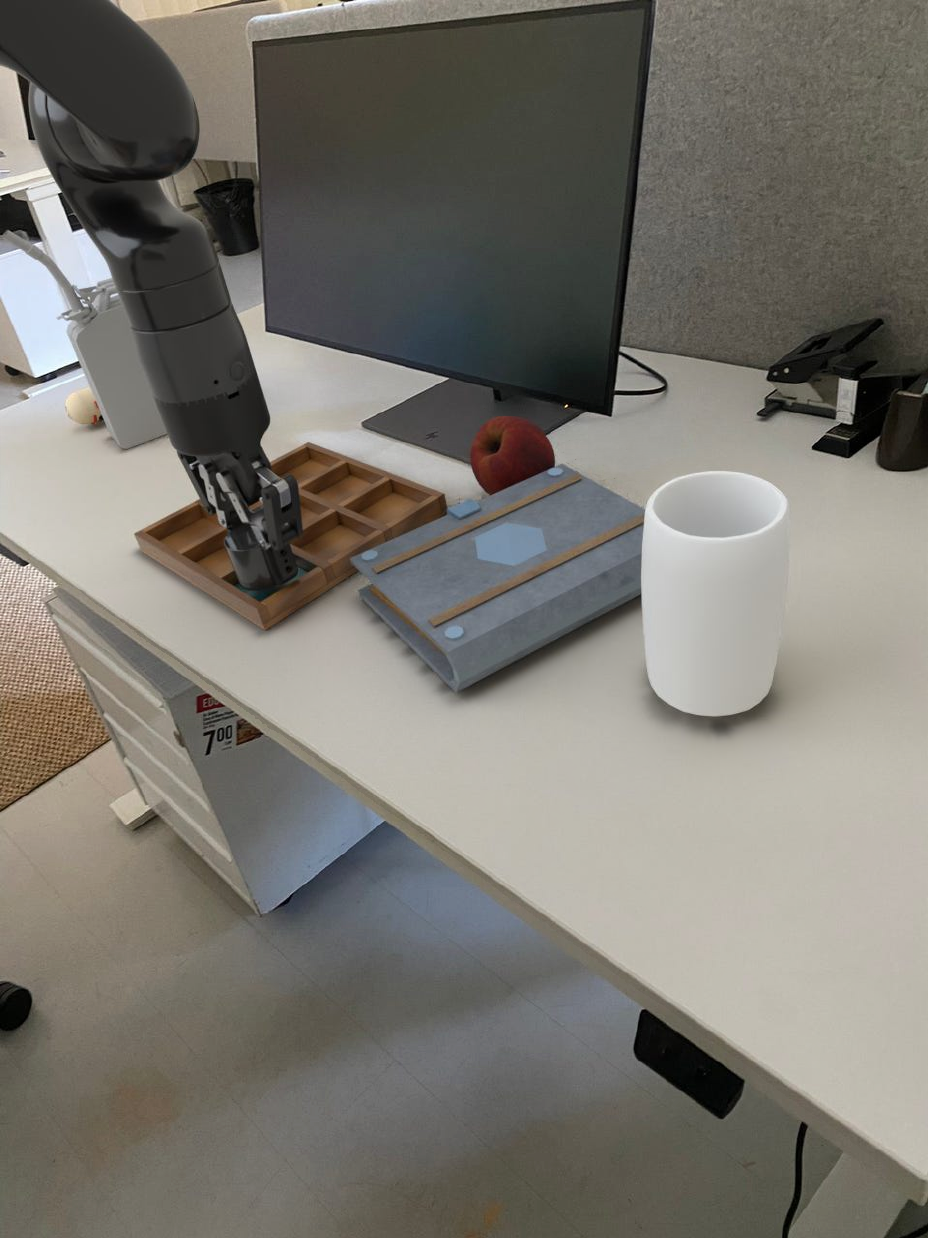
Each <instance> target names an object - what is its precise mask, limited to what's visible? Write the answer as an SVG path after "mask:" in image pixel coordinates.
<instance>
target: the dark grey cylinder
mask: <svg viewBox="0 0 928 1238" xmlns="http://www.w3.org/2000/svg"><path fill="white" fill-rule="evenodd" d="M262 524H263V526H264V528H265V530H266V532H267V527H266V521H262ZM224 546H225V548H226V551H227V554H228V556H229V559H230V562H231V564H232V567H233V570H234V572H235V575H236V578H237V580H238V583H239V585H240V586H241V587H242V588H244V589H246V590H250V591H260V590H265V589H269V588H272V587H274V586H276V585H277V584H276V583H274V582H273V581H272V580H271V577H270V574H269V571H268V568H267V565H266V562H265V559H264V557H263V554H262V551H261V548H260V547H261V546H260V544H259V542H258V540H257V538H256V536H255V534H254V532H253V530H252V528H251V526H250V525H249V524H243V525H241V526H239V527H237V528H235V529H233V530H232V531H231V532H229V533H228V534H227V536H226V537H225V539H224Z"/></svg>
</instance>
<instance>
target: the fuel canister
mask: <svg viewBox="0 0 928 1238" xmlns="http://www.w3.org/2000/svg"><path fill="white" fill-rule="evenodd" d="M1 238H2V240H4V241H6V242H7V243H9V244H11V245H13V246H14V247H16V248H18V249H20V250H21V251H23V252H24V253H25V255H28V256H29V257H30V258H32V259H33V260H35V261H37V262H39V263H41V264H42V265H43V266H45V268H46V269H47V271H48V272H49V273H50V274H51V276H52V277H53V278H54V280H55V281H56V282H57V284H58V285H59V286H60V288H61V289H62V291H63V293H64V295H65V297H66V300H67V302H68V304H69V306H70V309H69V310H66V311H64V312H61V313H60V315H58V316H56V319H57V320H58V321H59V320H61V319H63V320H64V321H66V322H69V321H70V322H69V323H68V324H67V327H66V334H67V337H68V339H69V341H70V344H71V346H72V348H73V351H74V353H75V355H76V358H77V360H78V362H79V365H80V368H81V369H82V372H83V374H84V376H85V379H86V381H87V384H88V387H90V388H91V391H92V393H93V395H94V398H95V400H96V402H97V405H98V407H99V409H100V412H101V414H102V416H103V419H104V420H103V421H104V424H105V425H106V429H107V430H108V433H109V435H110V436H111V437H112V439H113V440H114V441H115V443H117V444H118V446H119V447H120V448H122V449H126V450H128V449H131V448H133V447H136V446H138V445H141V444H144V443H147V442H150V441H152V440H156V439H158V438H161V437H163V436H166V435H168V434H167V431H166V429H165V426H164V424H163V421H162V418H161V416H160V413H159V411H158V408H157V405H156V403H155V400H154V398H153V395H152V392H151V390H150V387H149V385H148V382H147V379H146V377H145V374H144V372H143V369H142V366H141V364H140V361H139V357H138V354H137V350H136V345H135V341H134V337H133V333H132V330H131V327H130V324H129V322H128V319H127V316H126V314H125V311H124V308H123V306H122V303H121V301H120V298H119V295H118V293H117V290H116V287H115V285H114V282H113V279H112V277H110V278H106V279H103V280H100V281H97V282H96V285H94V286H93V285H92V286H88V287H84V288H83V287H82V288H78V286H77V285H75V284H72V283H71V282H70V280H69V279H68V278H67V277H66V276H65V274H64V273H63V271H62V270H61V269H60V268H59V267H58V265H57V264H56V263H55V261H54V260H53V258H51V256H48V254H46V253H45V252H44V250H42V249H41V248H40V247H38V246H36V244H34V243H30V242H29V241H27V240H26V239H24V238H23V237H21V236H19V235H18V234H16V233H14V232H12V231H10V230H9V229H6V230H5V232H3V235H2V236H1ZM94 290H95V291H94ZM78 295H79V296H78ZM112 295H113V296H112ZM84 305H86V306H84Z"/></svg>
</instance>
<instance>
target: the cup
mask: <svg viewBox="0 0 928 1238" xmlns="http://www.w3.org/2000/svg"><path fill="white" fill-rule="evenodd" d="M644 509H645V518H644V529H643V540H642V564H641V592H642V594H641V613H642V631H643V632H642V633H643V643H644V644H643V645H644V654H645V663H646V671H647V678H648V680H649V683H650V686H651V688H652V689H653V690H654V692H655V693H656V695H657V696H658V698H660V699H661V700H662V701H664V702H665V703H666V704H668V705H669V706H671V707H672V708H675V709H677V710H679V711H681V712H683V713H686V714H690V715H691V714H692V715H696V716H703V717H704V716H705V717H725V716H731V715H736V714H739V713H743V712H747V711H749V710H751V709H752V708H754V707H755V706H758V704H760V703H761V702H762V701H763V700H764V699H765V698H766V697H767V696H768V694H769V692H770V689H771V687H772V685H773V681H774V675H775V672H776V666H777V661H778V655H779V650H780V643H781V638H782V631H783V623H784V616H785V609H786V600H787V592H788V581H789V563H790V501H789V500H788V498H787V497H786V495H785V494H784V493H783V492H782V491H781V490H780V489H779V488H777V487H776V486H775V485H774V484H773V483H771V482H770V481H767V480H765V479H763V478H761V477H758V476H755V475H751V474H749V473H745V472H739V471H729V470H708V471H701V472H694V473H693V472H692V473H689V474H685V475H682V476H681V475H680V476H677V477H675V478H673V479H671V480H670V481H667V482H665V483H664V484H662V485H661V486H660V487H658V488H657V489H656V490H654V491H653V492H652V493H651V495H650V497H649V498H648V500H647V501H646V505H645V508H644Z"/></svg>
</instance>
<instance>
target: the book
mask: <svg viewBox="0 0 928 1238" xmlns="http://www.w3.org/2000/svg"><path fill="white" fill-rule="evenodd" d="M645 509H646V508H643V507H642V506H640V505H638V504H637V503H635V502H633V501H631V500H629V499H627V498H625V497H624V496H622V495H620V494H619V493H616V492H614V491H612V490H611V489H609V488H607V487H605V486H604V485H602V484H599V483H598V482H596V481H594V480H592V479H590V477H589V478H588V477H587V476H586V475H583V474H582V473H580V472H578V471H576V470H574V469H573V468H571V467H569V466H567V465H565V464H563V463H560V464H558V465H555V467H553V468H551V469H549V470H546V471H544V472H542V473H540V474H538V475H535V476H533V477H531V478H529V479H526V480H524V481H522V482H520V483H517V484H515V485H513V486H511V487H508V488H506V489H504V490H502V491H500V492H497V493H495V494H493V495H491V496H490V495H488V496H486V497H484V498H481V499H479V500H477V501H475V500H474V499H472V498H468V499H466V500H464V501H462V502H459V503H457V504H455V505H452V506H450V507H447V514H445V515H444V516H442V517H441V518H439V519H437V520H435V521H432V522H430V523H428V524H426V525H424V526H421V527H419V528H417V529H415V530H412V531H410V532H408V533H406V534H403V535H401V536H399V537H397V538H394V539H392V540H390V541H388V542H386V543H383V544H381V545H379V546H377V547H374V548H372V549H370V550H368V551H365V552H363V553H361V554H359V555H356V556H354V557H352V558H350V562H351V563H352V564H353V565H354V566H355V567H356V568H357V569H358V572H360V573H361V575H363V576H364V578H366V579H367V580H368V581H369V582H370V583H371V584H368V585H366V586H364V587H363V588H360V589H358V590H357V593H358V595H359V597H360V598H361V599H362V600H363V601H364V602H365V603H366V604H367V605H368V606H369V607H370V608H371V609H372V610H373V611H374V612H375V613H376V614H377V615H378V616H379V617H380V619H382V621H384V623H386V625H388V626H389V627H390V628H391V629H392V630H393V631H394V632H395V633H396V634H397V635H398V636H399V637H400V638H401V640H402V641H404V642H405V643H406V644H407V645H408V646H409V647H410V649H412V650H413V651H414V652H415V654H417V655H418V656H419V657H420V658H421V659H422V660H423V662H425V664H426V665H428V666H429V667H430V668H431V669H432V671H434V672H435V673H436V674H437V675H438V676H439V677H440V678H441V679H442V680H443V682H445V683H446V685H448V686H449V687H450V688H451V689H452V690H453V691H454V692H455V693H458V692H460V691H462V690H464V689H466V688H468V687H470V686H472V685H473V684H475V683H476V682H477V683H478V682H479V681H481V680H483V679H484V678H487V677H489V676H490V675H492V674H493V673H496V672H498V671H500V670H502V669H504V668H505V667H508V666H509V665H511V664H513V663H515V662H517V661H519V660H521V659H522V658H524V657H526V656H528V655H530V654H531V653H534V652H535V651H537V650H539V649H541V648H543V647H545V646H547V645H548V644H550V643H552V642H554V641H556V640H558V639H560V638H561V637H563V636H566V635H568V634H569V633H571V632H573V631H575V630H577V629H578V628H581V627H582V626H584V625H586V624H587V623H589V622H592V621H593V620H595V619H597V618H599V617H601V616H603V615H604V614H607V613H609V612H610V611H612V610H614V609H616V608H618V607H620V606H621V605H623V604H625V603H627V602H629V601H631V600H633V599H635V598H637V597H639V596H640V595H642V592H641V564H642V540H643V529H644V518H645Z"/></svg>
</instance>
